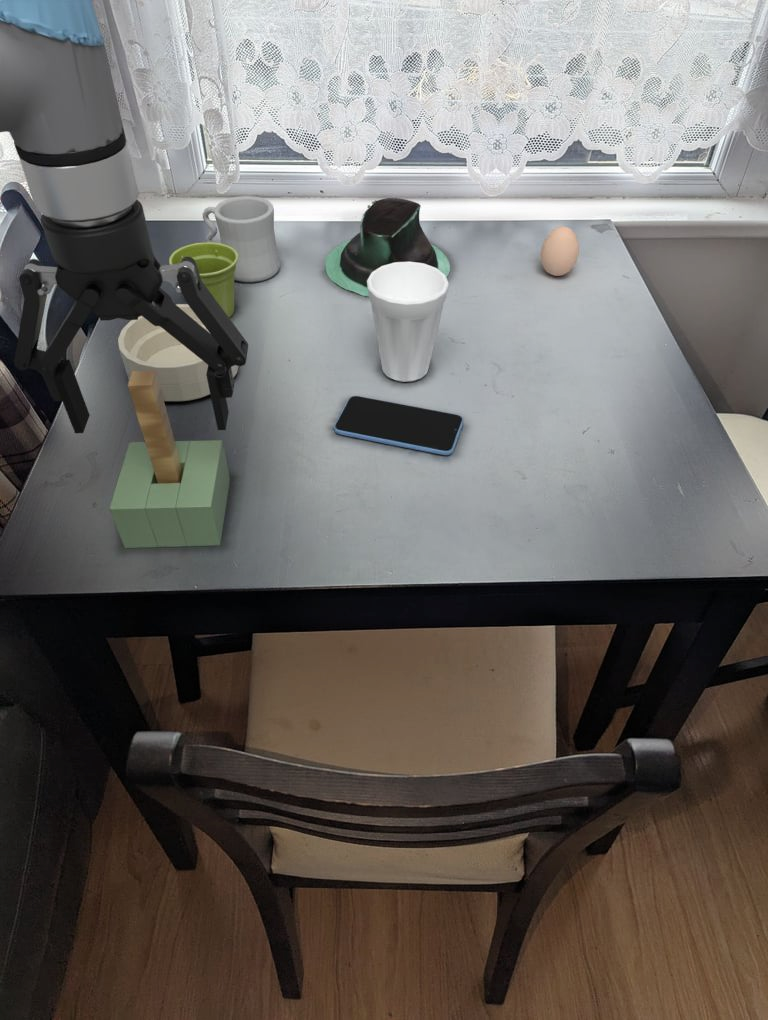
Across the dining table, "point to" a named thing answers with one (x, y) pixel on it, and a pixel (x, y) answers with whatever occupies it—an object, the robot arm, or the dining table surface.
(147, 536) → the holder
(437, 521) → the dining table surface
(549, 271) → the egg
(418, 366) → the cup
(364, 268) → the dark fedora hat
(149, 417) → the stirring stick
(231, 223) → the mug
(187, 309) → the bowl
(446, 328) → the dining table surface
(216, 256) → the plant pot
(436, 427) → the smartphone
